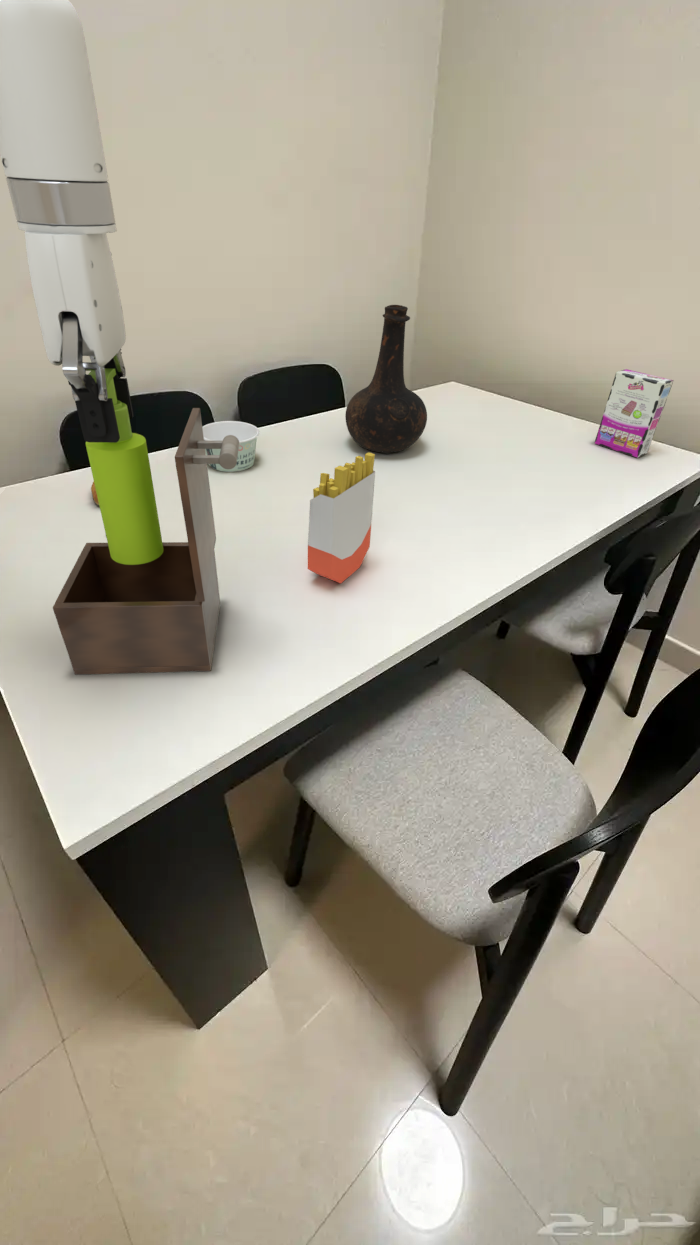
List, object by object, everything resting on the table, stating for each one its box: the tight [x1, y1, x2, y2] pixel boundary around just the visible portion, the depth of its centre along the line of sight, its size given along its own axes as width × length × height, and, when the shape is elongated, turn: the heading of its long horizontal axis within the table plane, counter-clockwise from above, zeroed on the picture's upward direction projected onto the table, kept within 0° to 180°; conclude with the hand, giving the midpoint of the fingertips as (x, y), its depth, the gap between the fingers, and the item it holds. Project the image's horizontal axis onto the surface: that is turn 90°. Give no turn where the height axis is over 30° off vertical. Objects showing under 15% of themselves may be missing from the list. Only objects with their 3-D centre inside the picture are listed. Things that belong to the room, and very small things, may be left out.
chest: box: [52, 541, 221, 675], centre depth 72 cm, size 16×14×10 cm
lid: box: [174, 407, 239, 602], centre depth 64 cm, size 17×14×5 cm
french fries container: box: [307, 451, 376, 584], centre depth 83 cm, size 5×11×18 cm, turn 148°
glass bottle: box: [345, 304, 428, 454], centre depth 122 cm, size 18×18×28 cm
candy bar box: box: [594, 368, 675, 459], centre depth 131 cm, size 11×5×16 cm, turn 42°
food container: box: [202, 420, 260, 473], centre depth 117 cm, size 12×12×6 cm
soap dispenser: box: [85, 368, 164, 565], centre depth 61 cm, size 6×7×20 cm
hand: (110, 427), depth 58 cm, fingers closed on soap dispenser, 5 cm apart
